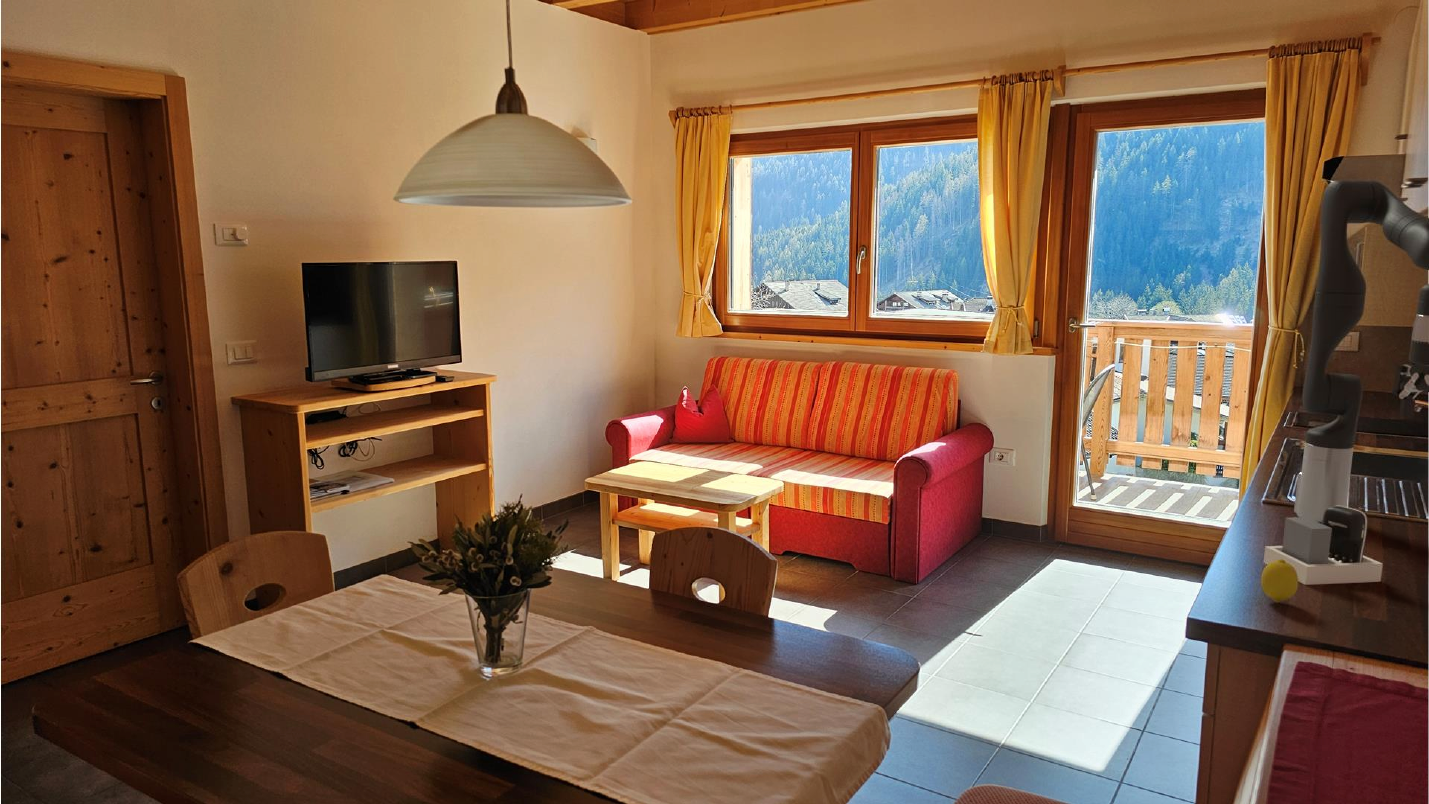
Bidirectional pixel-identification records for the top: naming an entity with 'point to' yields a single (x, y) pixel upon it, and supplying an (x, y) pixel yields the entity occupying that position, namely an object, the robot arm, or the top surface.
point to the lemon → (1279, 580)
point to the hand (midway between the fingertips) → (1424, 422)
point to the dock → (1328, 569)
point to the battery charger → (1346, 533)
